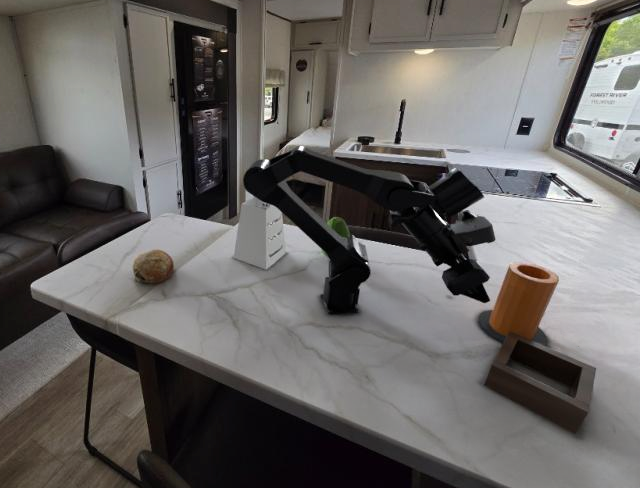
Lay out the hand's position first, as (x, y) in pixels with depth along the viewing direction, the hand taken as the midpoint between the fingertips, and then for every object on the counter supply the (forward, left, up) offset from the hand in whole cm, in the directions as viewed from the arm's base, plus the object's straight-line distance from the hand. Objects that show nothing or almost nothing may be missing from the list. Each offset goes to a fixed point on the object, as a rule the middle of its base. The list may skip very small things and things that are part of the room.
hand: (477, 287), depth 65 cm
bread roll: (-66, +25, -9) cm, 71 cm away
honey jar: (+7, -3, -8) cm, 11 cm away
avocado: (-18, +28, -2) cm, 33 cm away
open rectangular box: (0, -15, -9) cm, 18 cm away
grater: (-38, +31, -9) cm, 50 cm away
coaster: (+7, -3, -9) cm, 12 cm away
